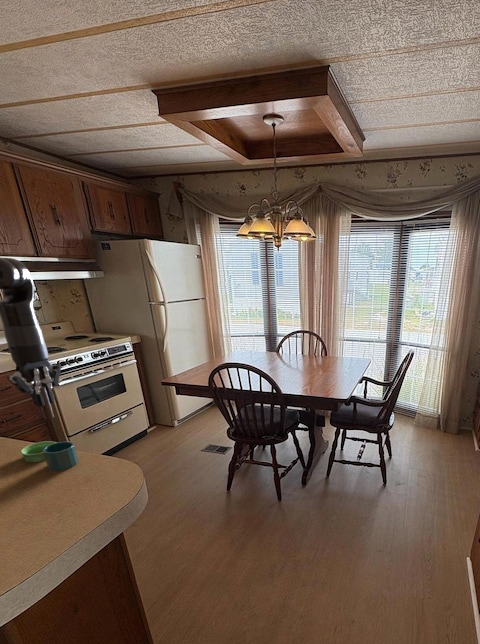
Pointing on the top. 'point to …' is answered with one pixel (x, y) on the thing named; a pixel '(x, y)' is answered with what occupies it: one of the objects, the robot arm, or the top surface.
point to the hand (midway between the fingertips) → (45, 404)
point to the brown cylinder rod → (46, 404)
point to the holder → (60, 456)
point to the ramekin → (35, 451)
